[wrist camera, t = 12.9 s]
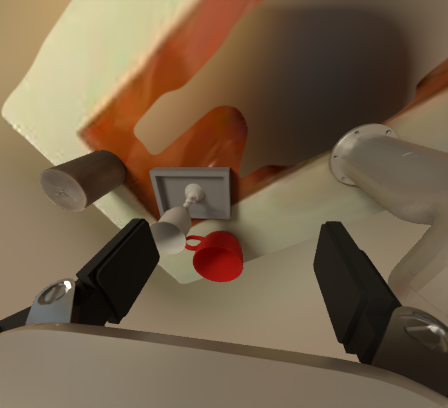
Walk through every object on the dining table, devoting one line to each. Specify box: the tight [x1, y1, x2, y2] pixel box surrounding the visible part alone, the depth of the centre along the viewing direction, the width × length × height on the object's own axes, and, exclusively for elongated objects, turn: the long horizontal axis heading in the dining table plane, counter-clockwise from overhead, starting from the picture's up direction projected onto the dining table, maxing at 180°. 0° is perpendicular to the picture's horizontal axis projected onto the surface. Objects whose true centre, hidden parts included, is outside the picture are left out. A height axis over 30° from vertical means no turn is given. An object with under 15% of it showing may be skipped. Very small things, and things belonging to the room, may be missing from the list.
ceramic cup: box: [185, 231, 243, 282], centre depth 51 cm, size 13×17×10 cm
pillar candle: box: [39, 150, 126, 212], centre depth 42 cm, size 10×10×15 cm
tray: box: [149, 167, 231, 219], centre depth 47 cm, size 19×13×3 cm
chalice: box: [150, 184, 204, 254], centre depth 40 cm, size 7×7×18 cm
